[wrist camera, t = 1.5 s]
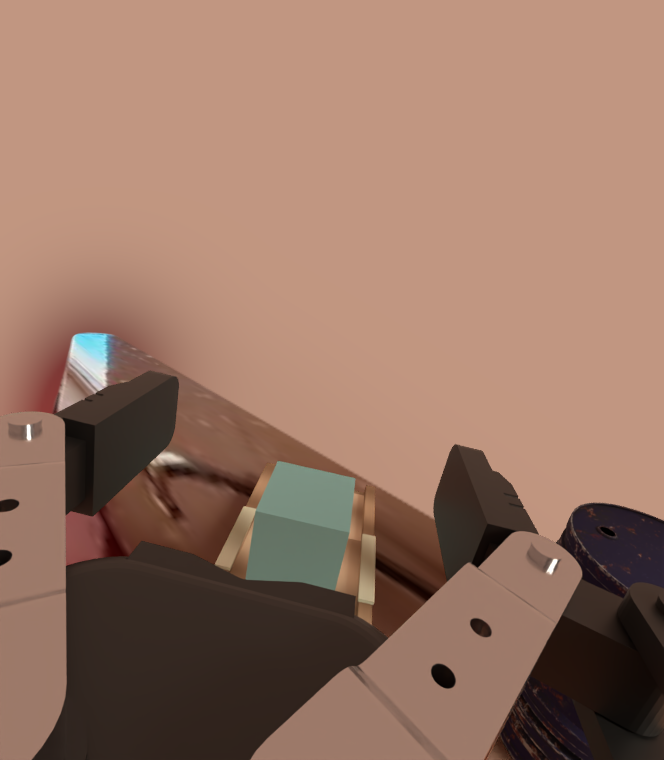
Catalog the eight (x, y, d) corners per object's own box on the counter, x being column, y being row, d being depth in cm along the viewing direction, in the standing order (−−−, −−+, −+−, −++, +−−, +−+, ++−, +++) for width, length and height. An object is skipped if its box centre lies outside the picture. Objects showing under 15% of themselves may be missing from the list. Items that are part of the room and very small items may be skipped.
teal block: (310, 685, 26) (349, 532, 21) (232, 666, 26) (255, 510, 22) (321, 615, 30) (355, 478, 26) (255, 599, 31) (277, 460, 26)
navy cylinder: (650, 729, 29) (769, 567, 24) (646, 884, 22) (818, 698, 16) (509, 632, 34) (581, 482, 29) (466, 730, 27) (552, 551, 22)
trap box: (351, 950, 18) (367, 914, 17) (81, 876, 18) (78, 836, 17) (370, 510, 46) (376, 485, 45) (262, 485, 46) (266, 460, 45)
